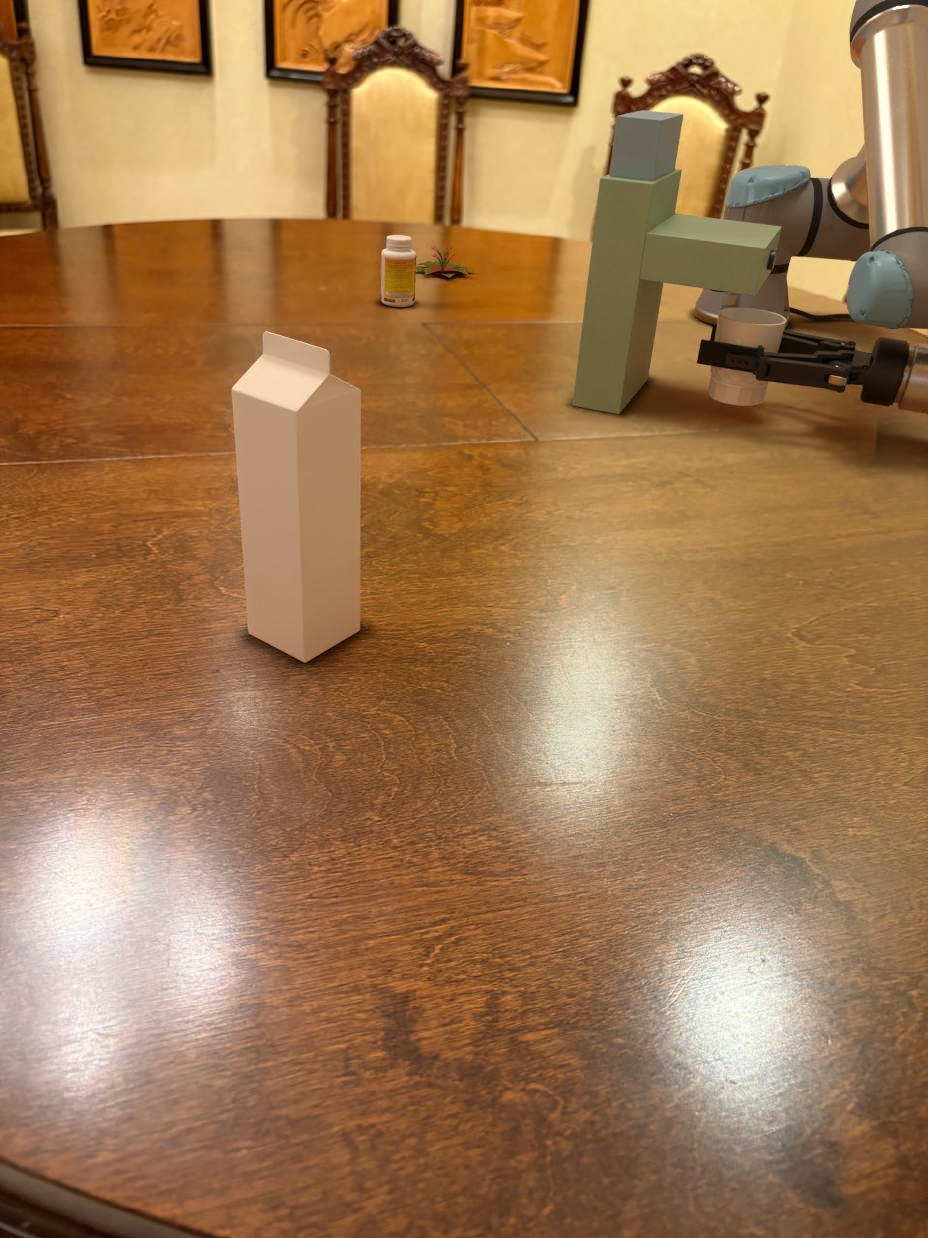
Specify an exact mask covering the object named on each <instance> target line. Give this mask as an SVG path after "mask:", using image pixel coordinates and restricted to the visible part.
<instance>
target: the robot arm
mask: <svg viewBox="0 0 928 1238" xmlns="http://www.w3.org/2000/svg"><path fill="white" fill-rule="evenodd" d="M848 34H849V55H850V59H851V61H852V63H853V65H854V66H855V67H856V68H857V69H859V70H860V80H861V81H860V83H861V84H860V85H861V86H860V87H861V101H862V105H861V106H862V120H863V121H862V122H863V124H862V125H863V140H864V141H863V142H864V143H863V144H862V146H861V148H860V149H859V151H858V153H857V154H856V156H853V157H850V158H848V159H846V160H844V161H843V162H841V163H840V164H839V166H838V167H837V168H836V169H835V171H834V172H833V174H832V175H831V177H830V178H829V177H812V174H811V170H810V168H808V167H807V166H802V165H796V164H795V165H792V164H791V165H785V164H780V165H779V164H775V165H773V164H772V165H762V166H754V167H748V168H744V169H742V170H740V171H738V172H737V173H736V174H734V175H733V177H732V179H731V181H730V183H729V188H728V190H727V195H726V199H725V201H724V212H723V217H722V219H725V220H733V221H741V222H749V223H757V224H765V225H773V226H781V227H782V228H781V233H780V238H779V242H778V247H777V255H776V260H775V264H774V267H773V270H772V271H771V272H770V274H769V275H768V277H767V279H766V280H765V282H764V283H763V285H762V286H761V288H760V289H759V291H758V292H757V294H756V296H752V295H745V294H738V293H731V292H715V291H711V290H709V289H704V288H702V290H701V292H700V294H699V296H698V298H697V300H696V302H695V307H694V312H693V314H694V316H695V318H697V319H698V320H700V321H702V322H704V323H707V324H709V325H712V328H711V332H710V338H709V339H701V340H700V343H699V349H698V353H697V358H696V364H697V365H703V366H709V367H711V366H715V367H720V368H726V369H732V370H738V371H744V372H750V373H752V374H754V375H756V379H757V380H759V381H768V383H777V384H785V385H792V386H800V387H808V388H815V389H816V388H817V389H824V390H826V391H827V390H828V391H831V392H832V391H833V392H836V393H838V394H839V393H840V394H841V393H845V391H846V388H847V385H848V386H849V385H850V386H861V389H860V395H859V399H860V400H859V401H861V403H865V404H869V405H875V406H882V407H887V408H889V407H890V406H893V404H897V405H896V407H897V408H898V410H902V411H908V412H913V413H919V414H925V415H928V343H920V342H918V343H916V344H915V345H914V346H913V347H910V344H911V343H910V342H908V340H904V339H899V338H892V337H887V336H886V337H885V336H879V337H877V338H876V339H875V341H874V344H873V346H872V350H871V352H866V351H863V350H859V349H856V346H857V342H855V341H854V340H843V339H834V338H829V337H823V336H819V335H813V334H809V333H803V332H799V331H793V330H787V329H784V332H783V336H782V339H781V343H780V347H779V351H778V353H772V352H764V349H765V348H764V347H763V346H762V345H759V346H758V348H753V347H746V346H740V345H734V344H728V343H722V342H716V341H715V334H716V328H717V321H718V314H719V311H720V310H722V309H725V308H733V307H742V308H754V309H761V310H766V311H770V312H774V313H777V314H779V315H781V316H783V317H785V318H786V320H787V321H786V325H785V328H787V327H788V324H789V321H790V316H791V314H793V315H797V316H801V317H803V318H806V319H809V320H812V321H813V320H814V321H829V320H839V319H840V320H841V319H846V320H847V319H848V320H849V319H850V320H853V321H854V322H855V323H857V324H860V325H865V326H871V327H877V328H885V329H888V330H898V329H915V330H916V329H917V330H928V0H855V3H854V6H853V10H852V13H851V18H850V23H849V33H848ZM792 257H793V258H794V257H796V258H813V259H825V260H834V261H835V260H837V261H847V262H848V261H850V262H855V263H854V265H853V267H852V269H851V271H850V275H849V277H848V289H847V292H846V297H845V298H846V309H847V312H848V313H832V314H821V315H820V314H814V313H810V312H807V311H804V310H801V309H798V308H795V307H792V306H790V299H789V298H790V297H789V288H788V273H789V268H790V263H791V260H792Z"/></svg>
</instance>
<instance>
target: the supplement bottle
mask: <svg viewBox="0 0 928 1238" xmlns="http://www.w3.org/2000/svg"><path fill="white" fill-rule="evenodd" d="M412 242H413V241H412V236H408V235H403V234H391V235H387V236H386V242H385V244H386V246H385V248H383V249H382V250H381V253H380V301H381V303H382V304H383V305H385V306H387V307H394V308H407V307H411V306H413V305H414V304H415V301H416V278H417V276H416V275H417V272H416V271H417V270H416V266H417V252H416V251H415V250H414V249H413V248H412V246H413V243H412Z"/></svg>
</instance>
